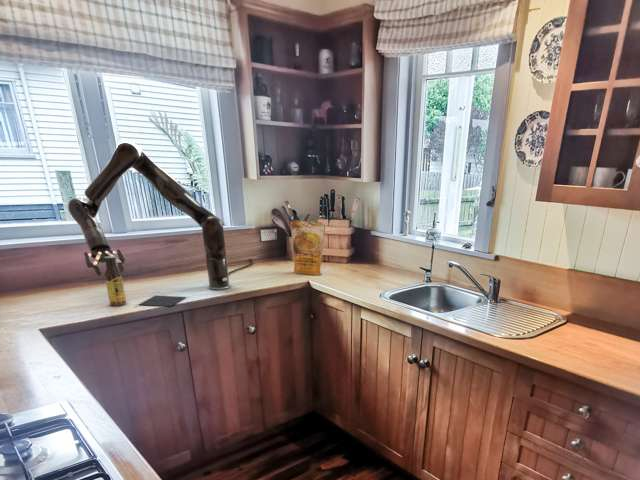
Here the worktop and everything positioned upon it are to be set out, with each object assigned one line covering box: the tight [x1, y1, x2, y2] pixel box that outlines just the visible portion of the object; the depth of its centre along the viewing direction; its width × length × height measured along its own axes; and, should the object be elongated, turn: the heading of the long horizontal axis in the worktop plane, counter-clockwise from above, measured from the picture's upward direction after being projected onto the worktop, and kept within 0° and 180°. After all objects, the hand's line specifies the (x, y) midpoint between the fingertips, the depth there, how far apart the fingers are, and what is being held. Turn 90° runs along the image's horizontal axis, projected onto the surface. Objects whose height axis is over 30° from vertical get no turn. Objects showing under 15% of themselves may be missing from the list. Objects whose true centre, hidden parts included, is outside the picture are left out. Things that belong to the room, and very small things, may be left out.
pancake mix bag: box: [289, 219, 326, 276], centre depth 255 cm, size 7×19×28 cm, turn 74°
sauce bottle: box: [104, 255, 127, 307], centre depth 194 cm, size 6×6×20 cm
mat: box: [139, 295, 186, 308], centre depth 203 cm, size 14×14×1 cm
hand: (111, 273), depth 194 cm, fingers open, 8 cm apart
